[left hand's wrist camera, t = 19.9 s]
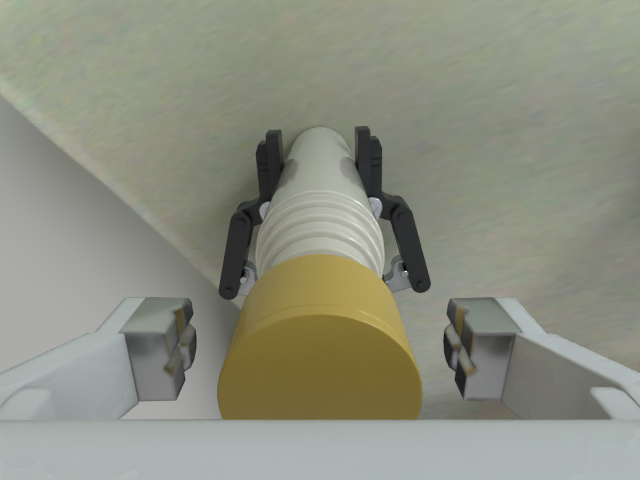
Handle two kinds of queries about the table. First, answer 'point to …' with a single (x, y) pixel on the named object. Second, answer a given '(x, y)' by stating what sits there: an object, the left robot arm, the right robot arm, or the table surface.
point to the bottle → (320, 207)
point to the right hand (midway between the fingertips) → (317, 131)
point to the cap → (319, 347)
